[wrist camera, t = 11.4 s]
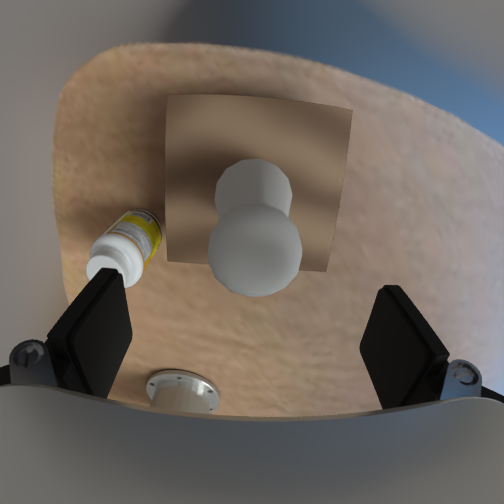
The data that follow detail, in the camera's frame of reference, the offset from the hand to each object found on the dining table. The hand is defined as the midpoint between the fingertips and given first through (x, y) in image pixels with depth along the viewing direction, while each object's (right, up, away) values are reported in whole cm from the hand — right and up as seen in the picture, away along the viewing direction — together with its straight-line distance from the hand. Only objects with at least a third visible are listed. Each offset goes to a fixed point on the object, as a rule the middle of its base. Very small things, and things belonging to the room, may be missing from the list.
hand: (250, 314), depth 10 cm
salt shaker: (0, +7, +14) cm, 16 cm away
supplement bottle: (-13, +5, +22) cm, 26 cm away
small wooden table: (0, +10, +19) cm, 22 cm away
